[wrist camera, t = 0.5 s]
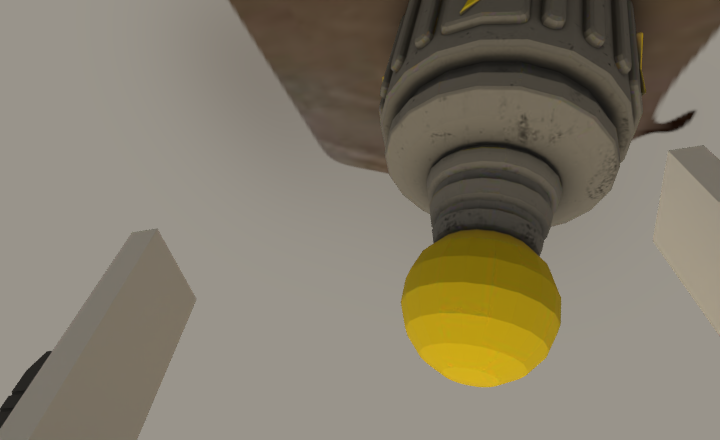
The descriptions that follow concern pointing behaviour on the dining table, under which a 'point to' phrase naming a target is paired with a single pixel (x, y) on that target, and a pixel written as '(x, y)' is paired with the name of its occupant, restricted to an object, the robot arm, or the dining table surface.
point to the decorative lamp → (503, 163)
